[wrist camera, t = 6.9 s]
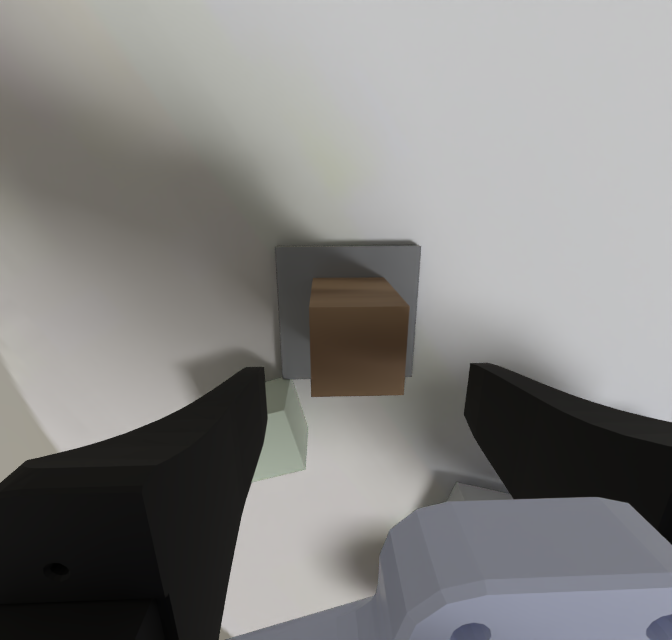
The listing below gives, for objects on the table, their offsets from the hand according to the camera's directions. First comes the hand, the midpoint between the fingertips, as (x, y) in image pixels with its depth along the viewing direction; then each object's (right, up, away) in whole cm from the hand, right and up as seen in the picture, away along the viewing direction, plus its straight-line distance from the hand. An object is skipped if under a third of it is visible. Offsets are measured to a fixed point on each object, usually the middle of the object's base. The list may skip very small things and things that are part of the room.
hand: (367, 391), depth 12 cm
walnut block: (0, +3, +8) cm, 9 cm away
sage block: (-5, -3, +11) cm, 12 cm away
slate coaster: (0, +3, +9) cm, 9 cm away
